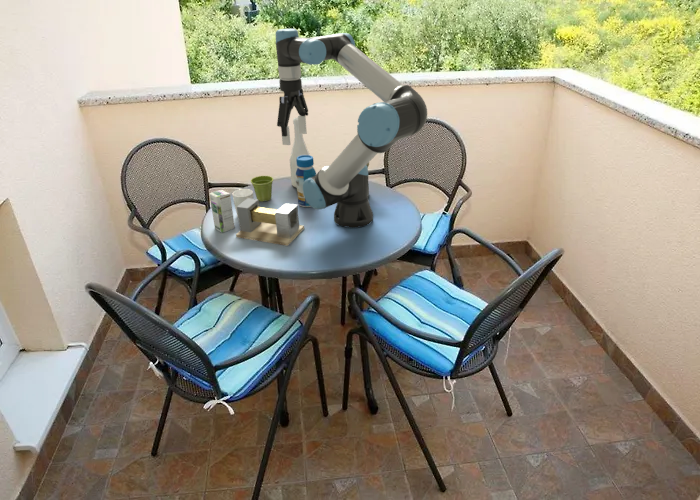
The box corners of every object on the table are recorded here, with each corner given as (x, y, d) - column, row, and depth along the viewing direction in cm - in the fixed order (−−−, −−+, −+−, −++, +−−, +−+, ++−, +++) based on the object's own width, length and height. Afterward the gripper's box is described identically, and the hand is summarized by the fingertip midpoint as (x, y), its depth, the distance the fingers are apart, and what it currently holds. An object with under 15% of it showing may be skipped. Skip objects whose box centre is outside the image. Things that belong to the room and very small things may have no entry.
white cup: (251, 220, 199) (248, 197, 194) (232, 219, 201) (229, 196, 196) (258, 212, 206) (255, 189, 201) (240, 211, 207) (237, 188, 202)
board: (304, 228, 192) (304, 225, 192) (287, 245, 181) (287, 242, 180) (255, 221, 199) (254, 218, 198) (236, 237, 188) (235, 234, 187)
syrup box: (214, 228, 194) (208, 193, 187) (227, 223, 198) (222, 188, 191) (222, 233, 191) (216, 197, 183) (235, 228, 194) (230, 192, 187)
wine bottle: (309, 189, 225) (304, 121, 210) (288, 188, 227) (282, 121, 212) (315, 181, 233) (311, 115, 218) (295, 180, 235) (290, 114, 220)
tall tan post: (284, 220, 188) (283, 210, 185) (279, 225, 184) (278, 215, 182) (251, 215, 192) (250, 205, 190) (245, 220, 189) (244, 209, 186)
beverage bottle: (315, 208, 208) (312, 161, 198) (295, 207, 209) (291, 160, 199) (320, 200, 215) (317, 154, 205) (300, 199, 216) (297, 153, 206)
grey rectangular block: (299, 228, 189) (297, 204, 185) (289, 238, 183) (287, 214, 178) (287, 227, 191) (285, 203, 186) (277, 236, 185) (274, 212, 180)
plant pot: (266, 205, 212) (263, 185, 207) (248, 200, 216) (245, 181, 212) (279, 196, 219) (277, 177, 214) (262, 192, 223) (260, 174, 219)
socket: (261, 223, 194) (258, 199, 190) (250, 232, 188) (247, 208, 183) (251, 221, 196) (247, 198, 191) (240, 230, 189) (236, 206, 185)
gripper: (296, 70, 185) (300, 128, 196) (262, 85, 165) (269, 148, 176) (314, 71, 183) (318, 130, 194) (283, 86, 163) (289, 150, 173)
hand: (295, 139), depth 185 cm, fingers open, 13 cm apart
